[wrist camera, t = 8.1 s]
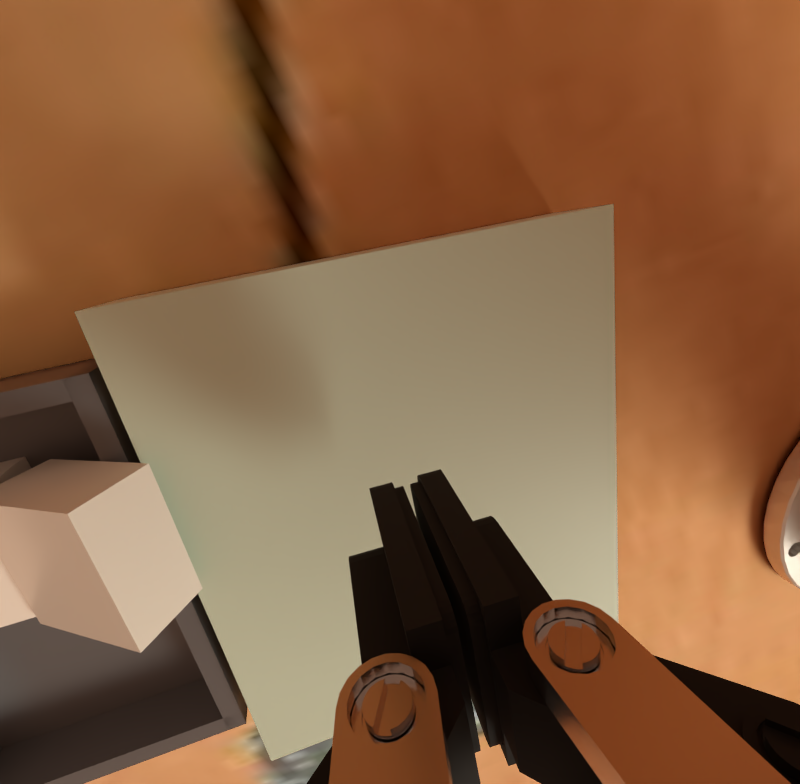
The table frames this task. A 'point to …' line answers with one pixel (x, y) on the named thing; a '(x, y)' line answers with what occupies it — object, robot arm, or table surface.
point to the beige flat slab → (372, 429)
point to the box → (88, 658)
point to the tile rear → (3, 597)
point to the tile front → (95, 550)
